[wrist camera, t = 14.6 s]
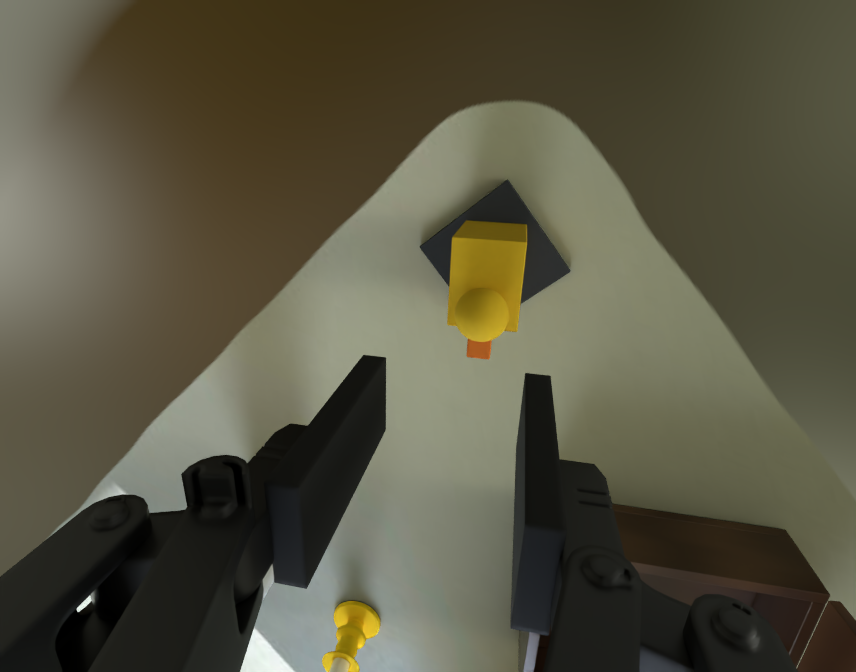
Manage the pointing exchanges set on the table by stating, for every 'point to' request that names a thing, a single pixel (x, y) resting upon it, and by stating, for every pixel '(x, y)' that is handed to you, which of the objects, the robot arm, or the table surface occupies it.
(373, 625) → the candle
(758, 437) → the table surface
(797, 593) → the chest
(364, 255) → the table surface
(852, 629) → the lid
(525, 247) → the duck
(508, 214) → the coaster
